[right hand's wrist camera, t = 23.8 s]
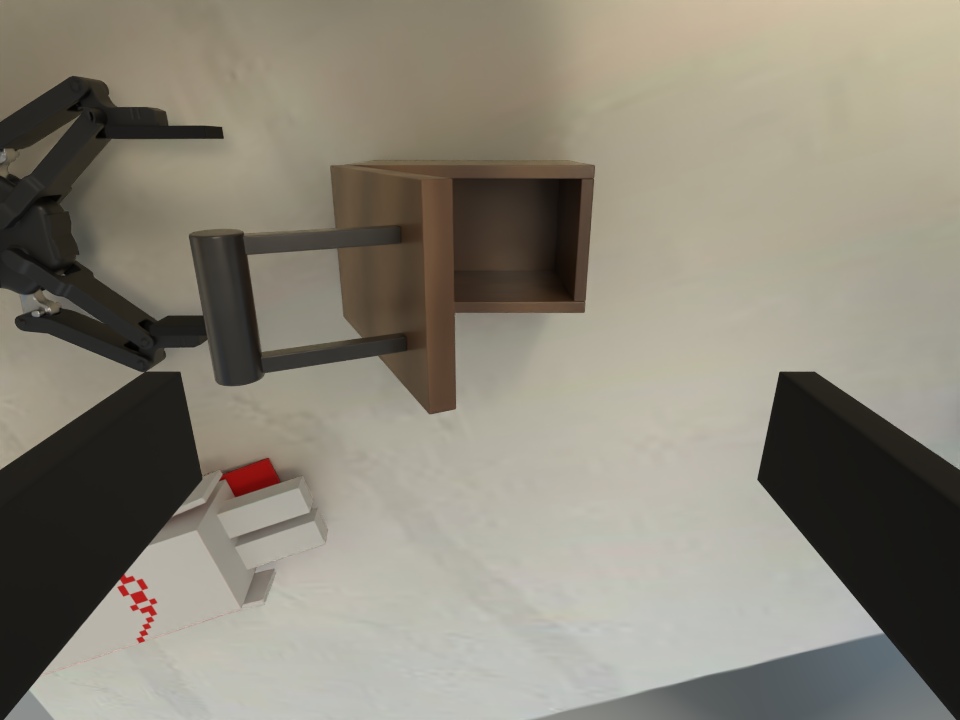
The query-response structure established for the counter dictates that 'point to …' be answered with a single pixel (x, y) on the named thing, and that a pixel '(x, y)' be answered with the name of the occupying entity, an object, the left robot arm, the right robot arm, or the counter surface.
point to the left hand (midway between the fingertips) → (231, 234)
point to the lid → (350, 284)
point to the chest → (515, 232)
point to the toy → (203, 561)
